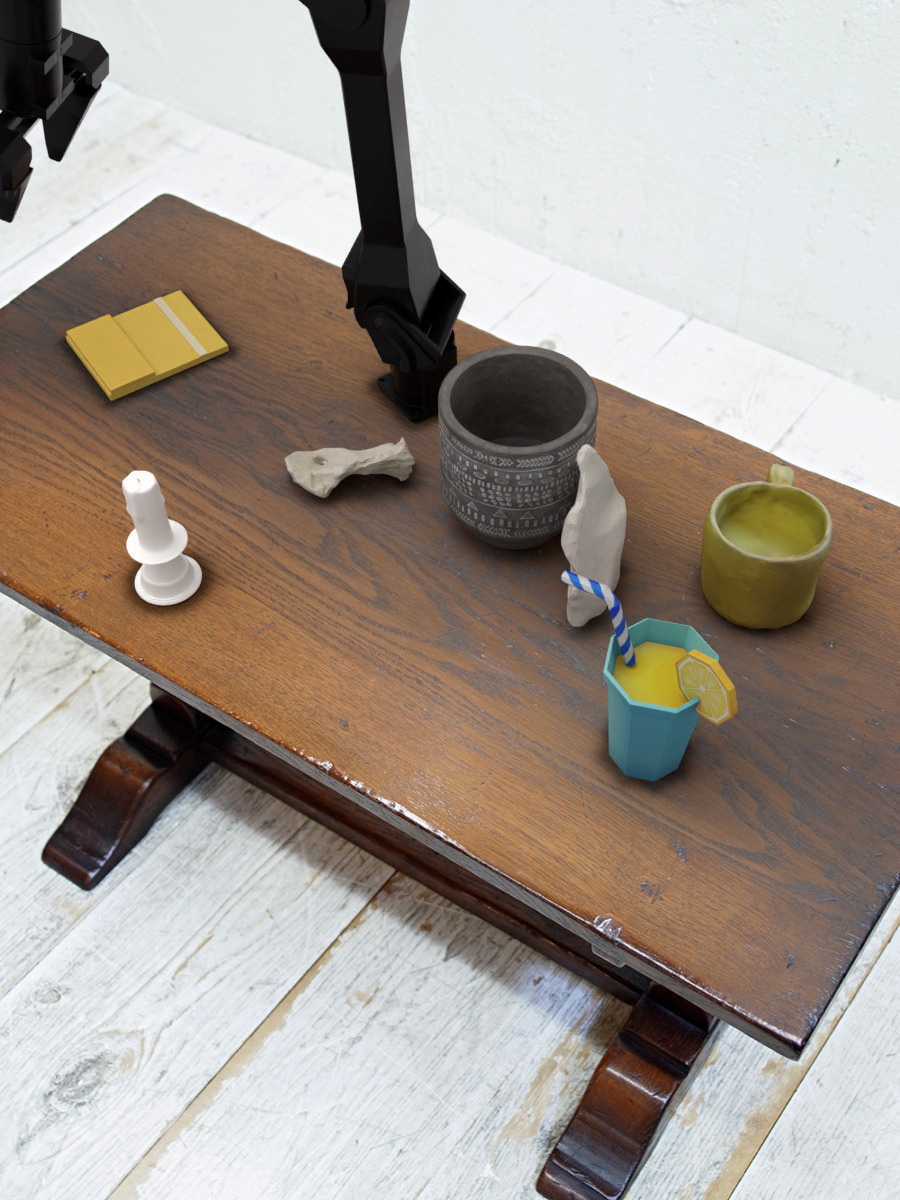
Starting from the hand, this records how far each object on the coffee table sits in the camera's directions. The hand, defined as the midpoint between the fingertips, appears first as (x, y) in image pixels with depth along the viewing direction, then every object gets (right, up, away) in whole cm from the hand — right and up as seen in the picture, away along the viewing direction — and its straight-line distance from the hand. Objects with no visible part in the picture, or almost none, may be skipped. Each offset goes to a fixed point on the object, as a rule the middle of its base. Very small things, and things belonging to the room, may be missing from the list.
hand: (31, 189), depth 110 cm
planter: (+41, -28, -4) cm, 50 cm away
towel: (+8, -11, +10) cm, 17 cm away
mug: (+60, -33, -8) cm, 70 cm away
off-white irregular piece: (+28, -25, -1) cm, 38 cm away
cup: (+49, -46, -18) cm, 69 cm away
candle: (+13, -34, -7) cm, 37 cm away
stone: (+48, -35, -9) cm, 60 cm away
